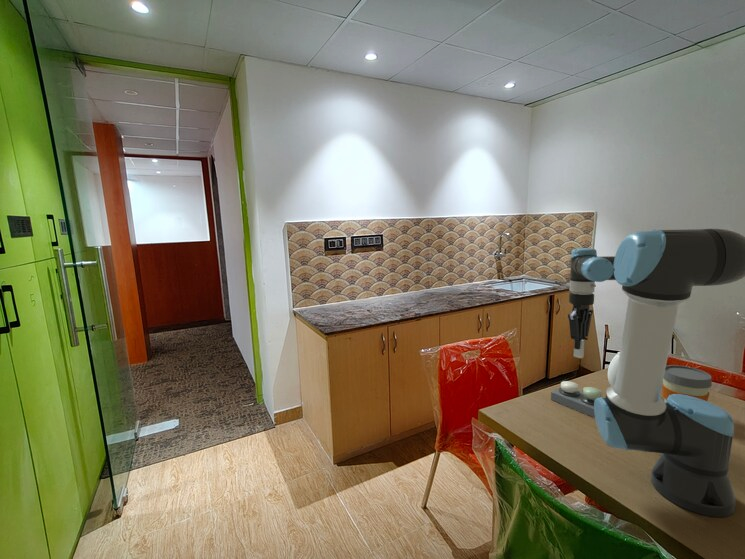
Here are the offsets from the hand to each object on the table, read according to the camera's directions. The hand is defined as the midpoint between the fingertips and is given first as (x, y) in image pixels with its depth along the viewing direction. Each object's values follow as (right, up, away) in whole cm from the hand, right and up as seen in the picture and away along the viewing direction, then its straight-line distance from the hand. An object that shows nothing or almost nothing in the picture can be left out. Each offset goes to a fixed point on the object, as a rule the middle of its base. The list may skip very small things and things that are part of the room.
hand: (578, 357), depth 125 cm
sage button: (+4, -13, -2) cm, 14 cm away
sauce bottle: (+23, -16, +11) cm, 30 cm away
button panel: (+4, -18, -1) cm, 19 cm away
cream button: (-1, -13, +5) cm, 14 cm away
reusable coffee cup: (+32, -18, -6) cm, 37 cm away
